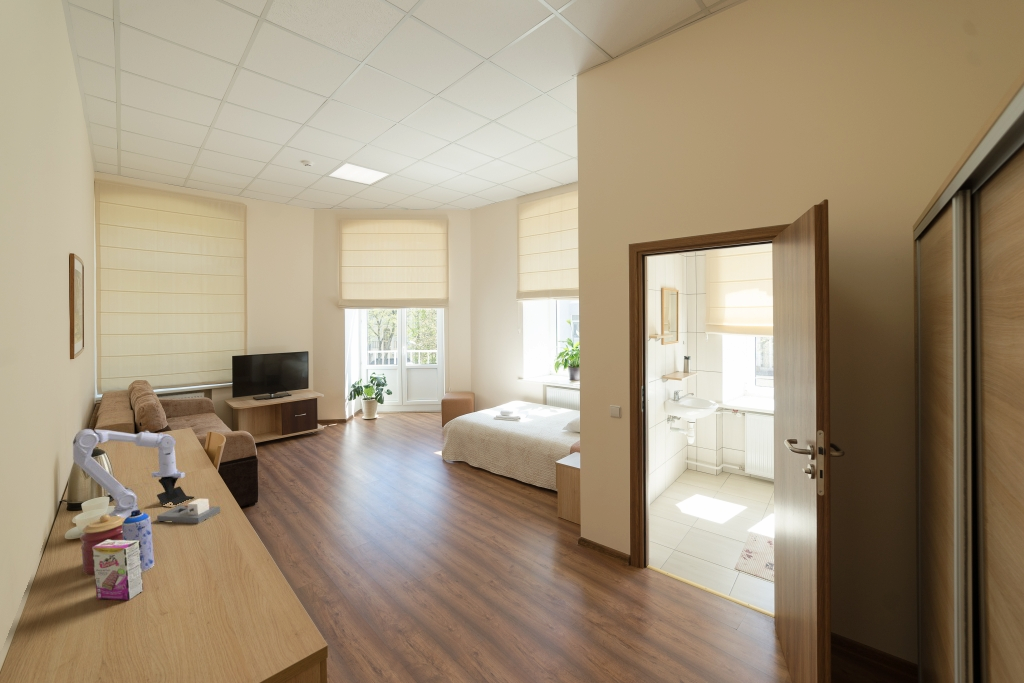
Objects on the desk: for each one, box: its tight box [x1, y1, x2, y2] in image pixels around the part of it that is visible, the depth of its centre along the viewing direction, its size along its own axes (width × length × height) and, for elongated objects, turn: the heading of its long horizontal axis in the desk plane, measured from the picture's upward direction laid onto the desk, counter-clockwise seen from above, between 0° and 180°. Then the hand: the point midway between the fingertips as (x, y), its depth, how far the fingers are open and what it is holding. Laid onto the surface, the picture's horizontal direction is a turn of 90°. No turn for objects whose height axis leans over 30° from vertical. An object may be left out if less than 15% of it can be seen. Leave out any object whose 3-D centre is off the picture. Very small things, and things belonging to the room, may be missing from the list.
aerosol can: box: [122, 509, 156, 573], centre depth 152 cm, size 8×8×20 cm
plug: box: [187, 498, 210, 515], centre depth 191 cm, size 7×5×6 cm
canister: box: [79, 513, 126, 575], centre depth 155 cm, size 13×13×18 cm
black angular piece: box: [156, 486, 195, 506], centre depth 210 cm, size 12×7×10 cm
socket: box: [156, 504, 221, 524], centre depth 193 cm, size 11×20×3 cm, turn 80°
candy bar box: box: [92, 540, 144, 601], centre depth 136 cm, size 11×5×16 cm, turn 84°
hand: (169, 493), depth 194 cm, fingers closed
